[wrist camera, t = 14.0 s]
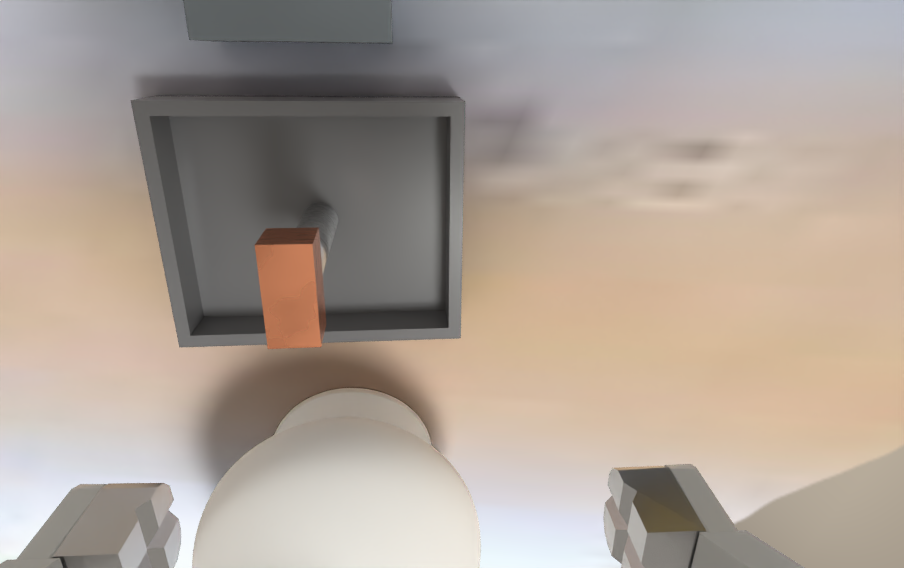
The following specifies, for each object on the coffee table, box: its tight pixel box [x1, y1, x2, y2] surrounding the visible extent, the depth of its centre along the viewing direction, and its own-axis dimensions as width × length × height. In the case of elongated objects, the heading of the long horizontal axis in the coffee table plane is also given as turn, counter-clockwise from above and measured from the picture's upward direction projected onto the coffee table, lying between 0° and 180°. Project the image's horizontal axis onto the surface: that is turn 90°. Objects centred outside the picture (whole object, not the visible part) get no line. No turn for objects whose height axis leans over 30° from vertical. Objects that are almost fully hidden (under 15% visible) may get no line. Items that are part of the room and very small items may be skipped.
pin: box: [255, 203, 338, 349], centre depth 31 cm, size 2×5×12 cm, turn 179°
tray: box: [131, 96, 465, 347], centre depth 35 cm, size 18×15×4 cm
